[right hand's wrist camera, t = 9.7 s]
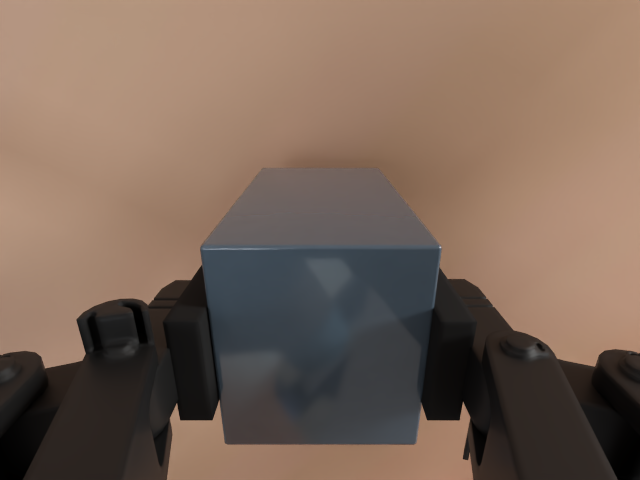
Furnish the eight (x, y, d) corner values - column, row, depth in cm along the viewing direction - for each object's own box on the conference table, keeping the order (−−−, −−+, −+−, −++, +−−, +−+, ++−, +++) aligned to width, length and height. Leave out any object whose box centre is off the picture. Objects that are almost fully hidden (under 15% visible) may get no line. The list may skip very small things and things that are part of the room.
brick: (379, 167, 16) (443, 245, 8) (372, 284, 18) (417, 445, 10) (261, 167, 16) (198, 245, 8) (268, 284, 18) (224, 446, 10)
